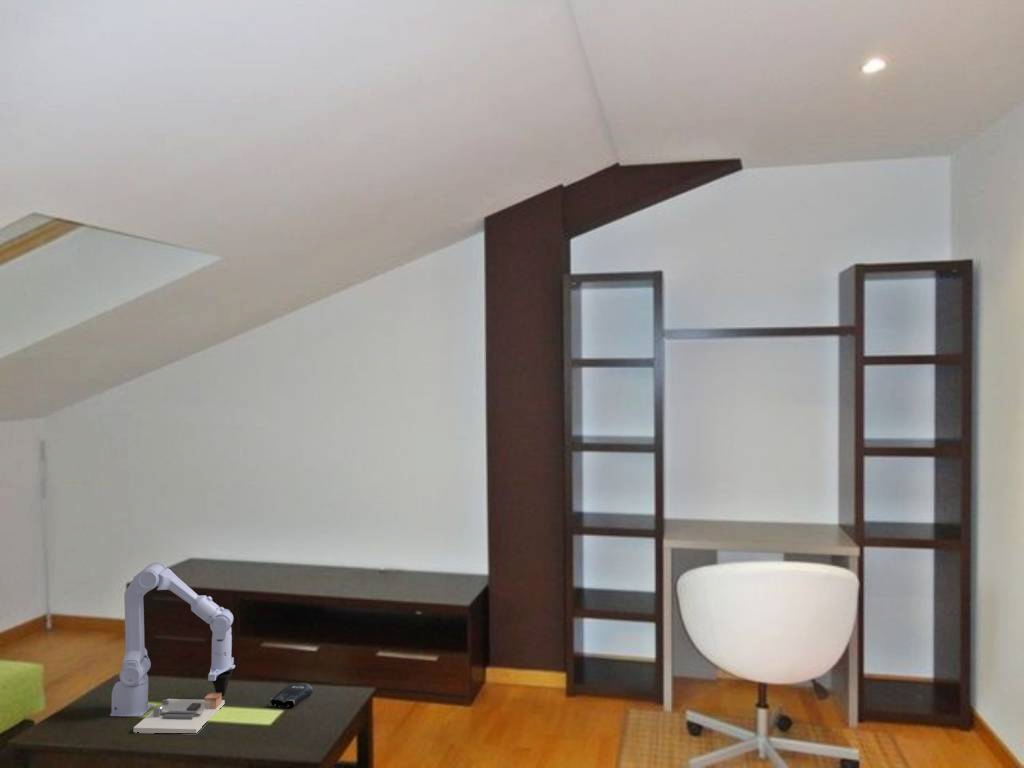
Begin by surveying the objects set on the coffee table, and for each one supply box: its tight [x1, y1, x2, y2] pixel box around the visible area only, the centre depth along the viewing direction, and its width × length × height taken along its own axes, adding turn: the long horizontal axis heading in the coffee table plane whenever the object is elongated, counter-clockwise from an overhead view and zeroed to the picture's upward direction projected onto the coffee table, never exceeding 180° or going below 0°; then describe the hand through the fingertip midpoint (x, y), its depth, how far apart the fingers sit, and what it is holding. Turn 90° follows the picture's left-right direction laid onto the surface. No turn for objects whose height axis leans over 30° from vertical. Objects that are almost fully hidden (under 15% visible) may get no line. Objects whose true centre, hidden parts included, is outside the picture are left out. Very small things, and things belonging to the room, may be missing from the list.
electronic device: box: [267, 682, 314, 708], centre depth 239 cm, size 9×6×15 cm
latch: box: [204, 692, 223, 708], centre depth 229 cm, size 4×4×3 cm
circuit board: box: [132, 698, 226, 734], centre depth 224 cm, size 18×20×4 cm
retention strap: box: [158, 703, 207, 714], centre depth 224 cm, size 14×4×2 cm, turn 89°
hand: (220, 695), depth 233 cm, fingers closed
